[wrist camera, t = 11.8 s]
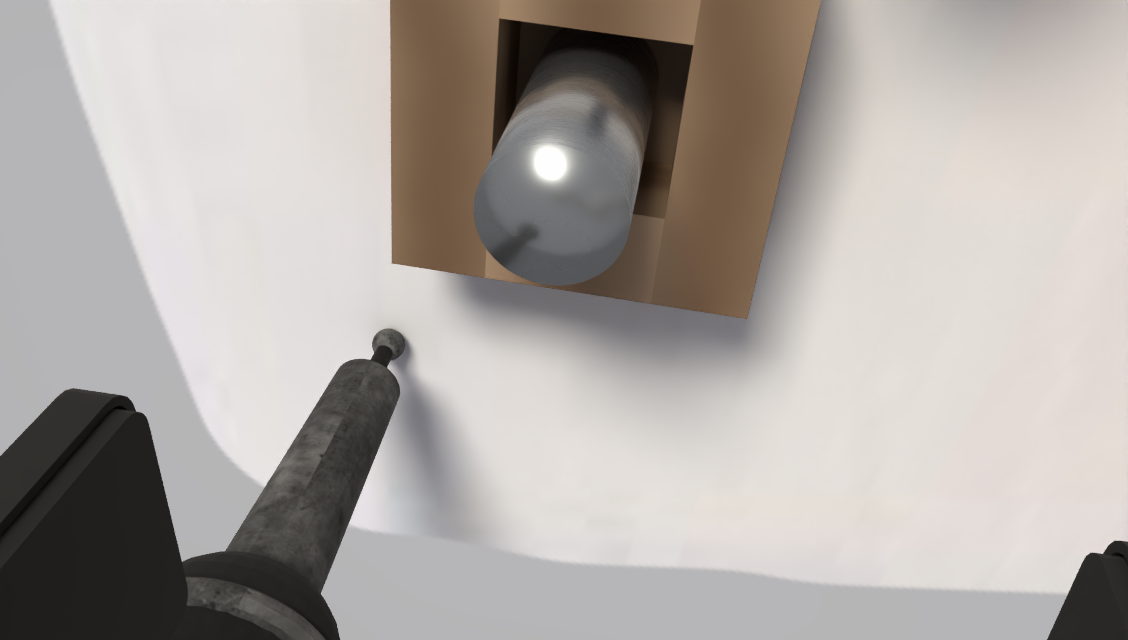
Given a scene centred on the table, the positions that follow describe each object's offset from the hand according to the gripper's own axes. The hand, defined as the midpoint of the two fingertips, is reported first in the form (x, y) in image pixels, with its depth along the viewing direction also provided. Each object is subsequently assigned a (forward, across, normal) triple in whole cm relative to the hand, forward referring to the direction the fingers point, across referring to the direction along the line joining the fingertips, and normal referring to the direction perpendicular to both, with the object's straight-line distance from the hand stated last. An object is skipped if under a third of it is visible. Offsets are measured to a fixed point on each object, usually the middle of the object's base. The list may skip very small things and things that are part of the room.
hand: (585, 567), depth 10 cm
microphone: (+26, +11, +16) cm, 33 cm away
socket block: (+26, +3, +4) cm, 27 cm away
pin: (+25, +3, +4) cm, 26 cm away
